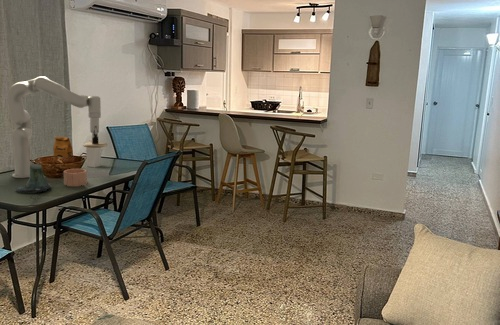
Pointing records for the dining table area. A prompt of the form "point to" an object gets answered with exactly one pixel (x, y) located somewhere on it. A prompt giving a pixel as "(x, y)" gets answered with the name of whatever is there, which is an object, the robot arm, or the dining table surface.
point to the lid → (94, 144)
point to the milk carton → (93, 156)
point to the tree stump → (35, 181)
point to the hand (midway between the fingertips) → (95, 142)
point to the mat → (97, 174)
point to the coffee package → (62, 147)
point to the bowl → (75, 177)
